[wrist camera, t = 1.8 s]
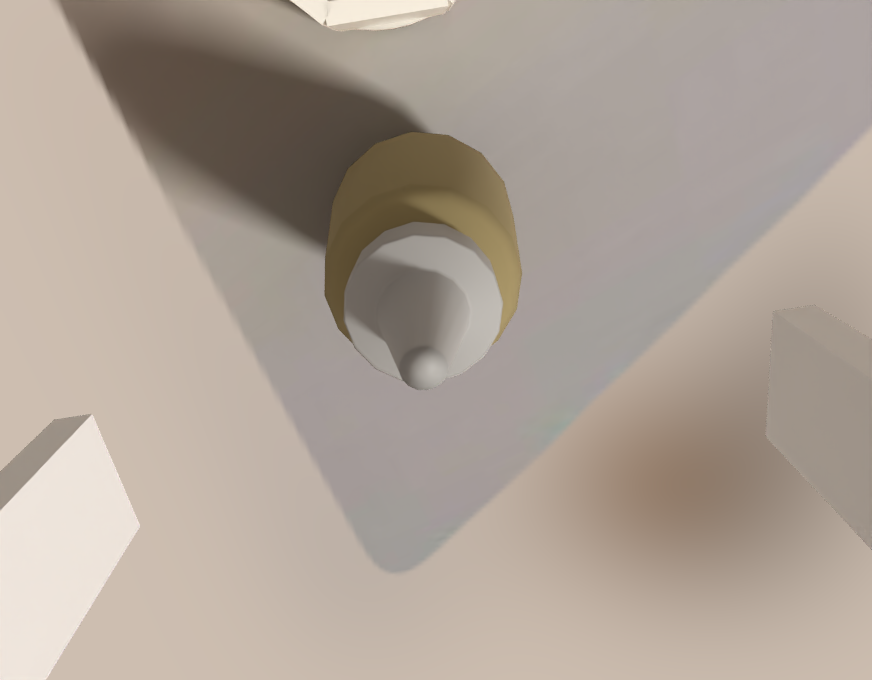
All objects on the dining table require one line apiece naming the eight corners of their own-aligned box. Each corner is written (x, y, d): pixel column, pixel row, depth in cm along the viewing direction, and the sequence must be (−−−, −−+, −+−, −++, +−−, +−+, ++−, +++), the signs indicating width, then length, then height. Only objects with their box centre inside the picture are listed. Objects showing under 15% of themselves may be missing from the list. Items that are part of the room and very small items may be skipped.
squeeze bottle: (526, 151, 30) (651, 253, 14) (475, 304, 33) (527, 536, 17) (361, 101, 29) (286, 147, 13) (324, 264, 32) (224, 469, 16)
